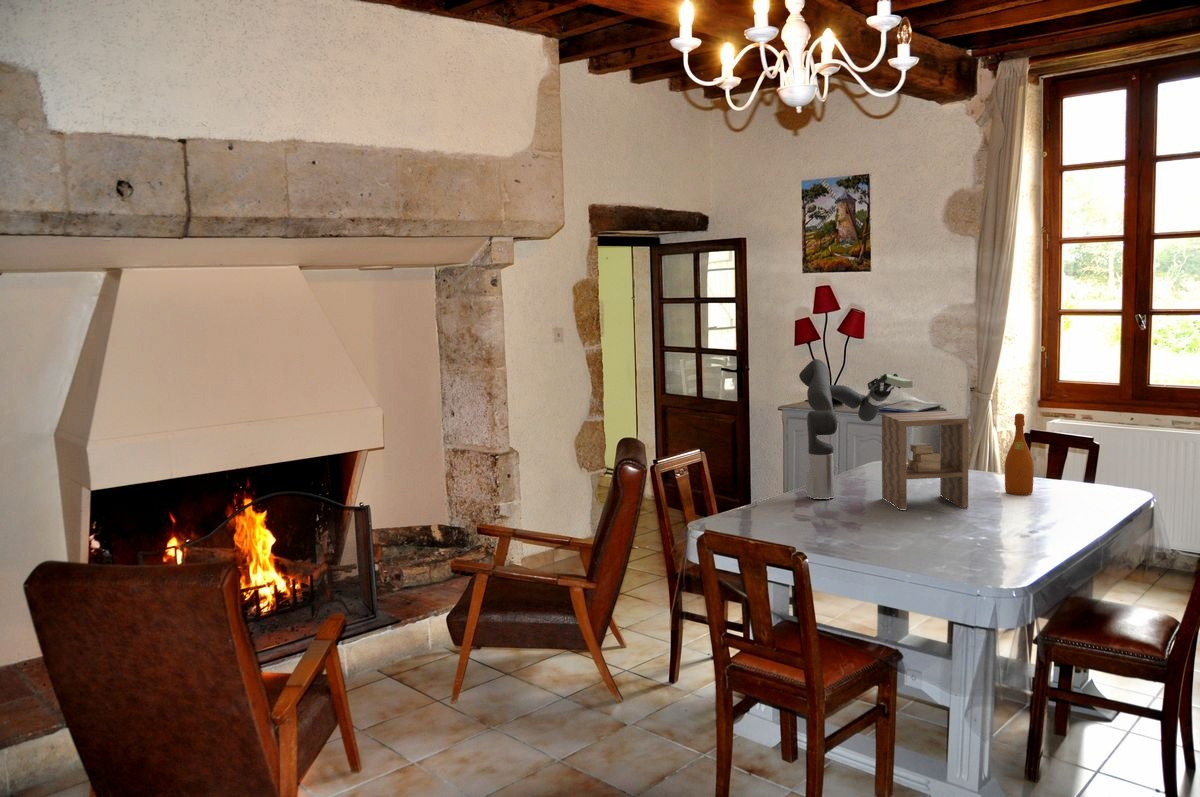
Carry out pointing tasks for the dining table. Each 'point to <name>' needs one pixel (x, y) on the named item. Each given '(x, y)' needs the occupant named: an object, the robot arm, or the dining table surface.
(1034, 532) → the dining table surface
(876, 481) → the dining table surface
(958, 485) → the rack
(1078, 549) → the dining table surface
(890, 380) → the slat
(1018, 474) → the wine bottle
